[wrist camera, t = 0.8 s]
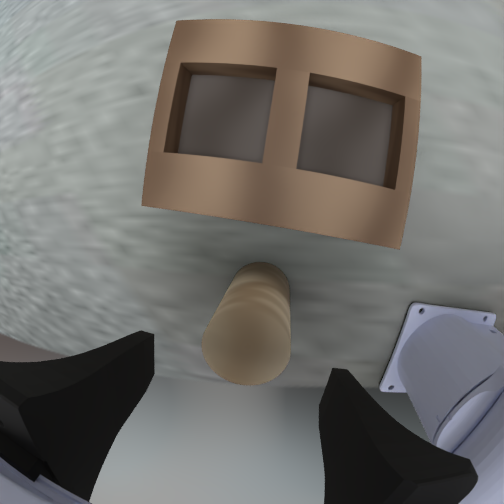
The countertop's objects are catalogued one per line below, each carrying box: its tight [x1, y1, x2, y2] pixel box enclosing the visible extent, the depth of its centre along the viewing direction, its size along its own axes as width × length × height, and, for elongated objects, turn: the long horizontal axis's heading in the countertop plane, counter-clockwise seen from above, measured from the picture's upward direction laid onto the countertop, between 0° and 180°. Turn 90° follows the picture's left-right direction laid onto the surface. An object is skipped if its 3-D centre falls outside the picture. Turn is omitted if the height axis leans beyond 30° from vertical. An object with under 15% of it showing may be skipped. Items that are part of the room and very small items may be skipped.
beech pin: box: [202, 262, 291, 385], centre depth 17 cm, size 4×4×8 cm
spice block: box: [141, 19, 421, 250], centre depth 16 cm, size 15×12×4 cm
